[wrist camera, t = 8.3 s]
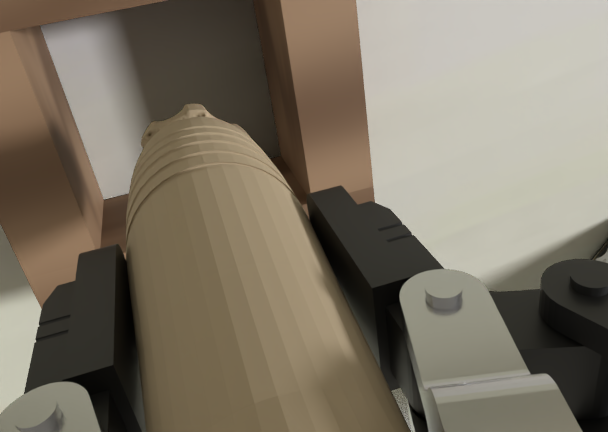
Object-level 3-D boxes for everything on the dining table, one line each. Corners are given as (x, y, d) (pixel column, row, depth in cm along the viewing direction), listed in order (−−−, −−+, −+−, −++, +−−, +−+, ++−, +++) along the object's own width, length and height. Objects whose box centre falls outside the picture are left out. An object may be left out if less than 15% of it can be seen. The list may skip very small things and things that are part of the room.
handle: (175, 267, 18) (289, 1049, 6) (55, 96, 15) (-323, 1070, 2) (305, 199, 19) (698, 811, 6) (216, 14, 15) (678, 510, 3)
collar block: (-74, -56, 19) (-132, -49, 14) (299, -118, 21) (344, -127, 17) (64, 262, 25) (52, 332, 21) (338, 190, 27) (378, 240, 23)
